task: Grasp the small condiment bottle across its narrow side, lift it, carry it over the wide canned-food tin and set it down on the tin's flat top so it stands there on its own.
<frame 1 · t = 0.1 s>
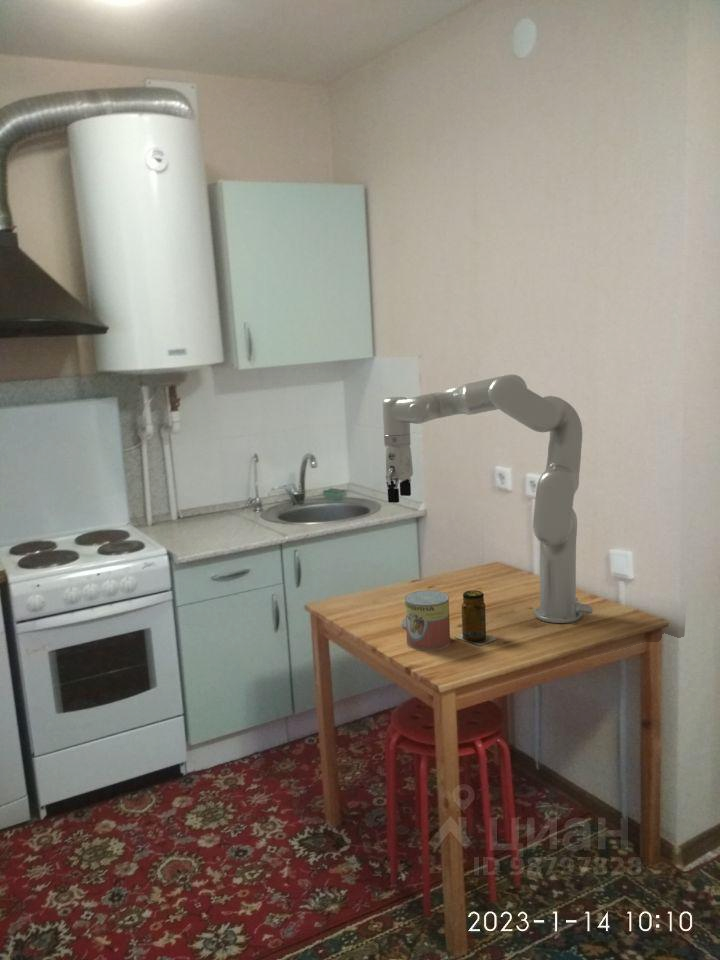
hand: (399, 498, 229), 31 cm above the table, fingers open, 9 cm apart
canned food: (428, 643, 203), on the table
saucer: (420, 625, 215), on the table
condiment: (476, 639, 204), on the table
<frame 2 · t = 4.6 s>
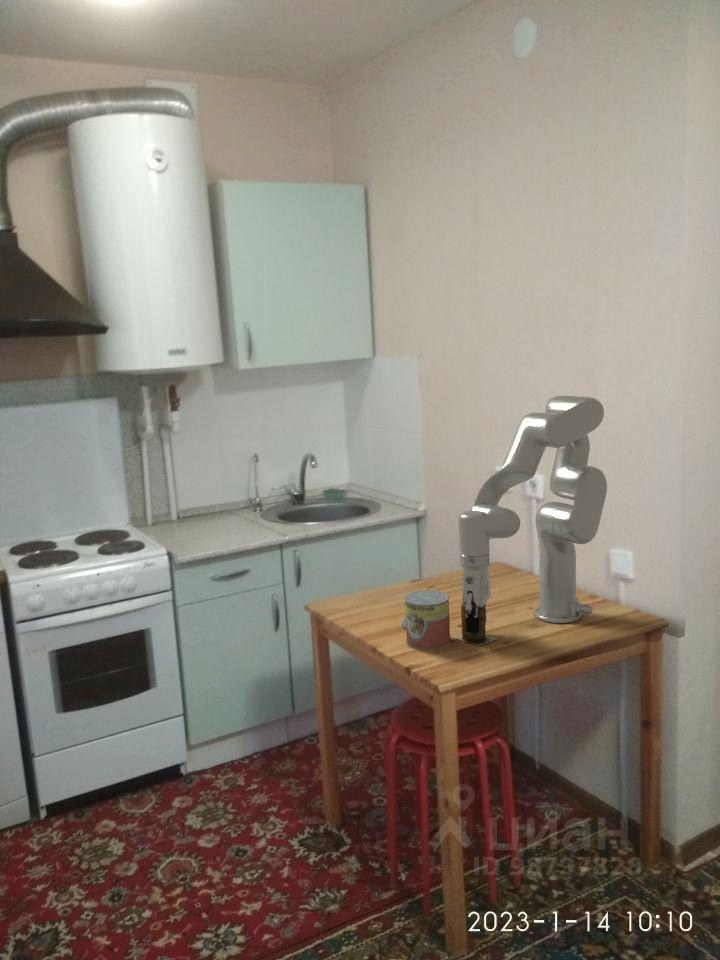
hand: (476, 626, 203), 3 cm above the table, fingers closed on condiment, 6 cm apart
condiment: (475, 639, 203), on the table, touching gripper
everything else where it was.
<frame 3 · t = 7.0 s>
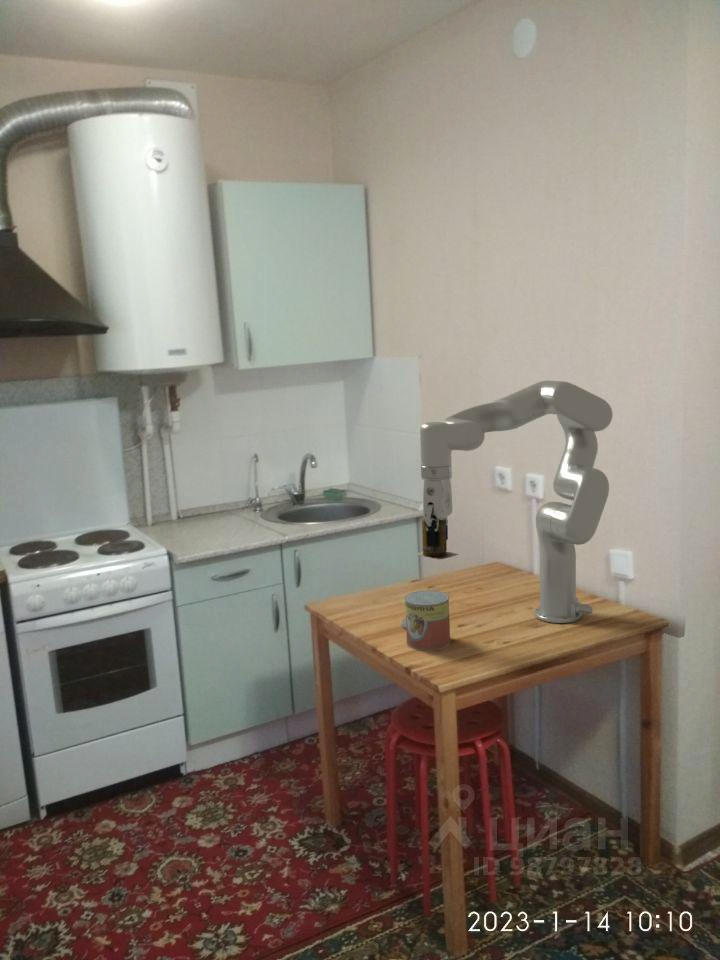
hand: (437, 542, 198), 26 cm above the table, fingers closed on condiment, 6 cm apart
condiment: (436, 555, 198), point 23 cm above the table, touching gripper
everything else where it was.
when the fingers open (16 cm above the table, at t = 9.5 s): condiment stays where it is, resting on canned food.
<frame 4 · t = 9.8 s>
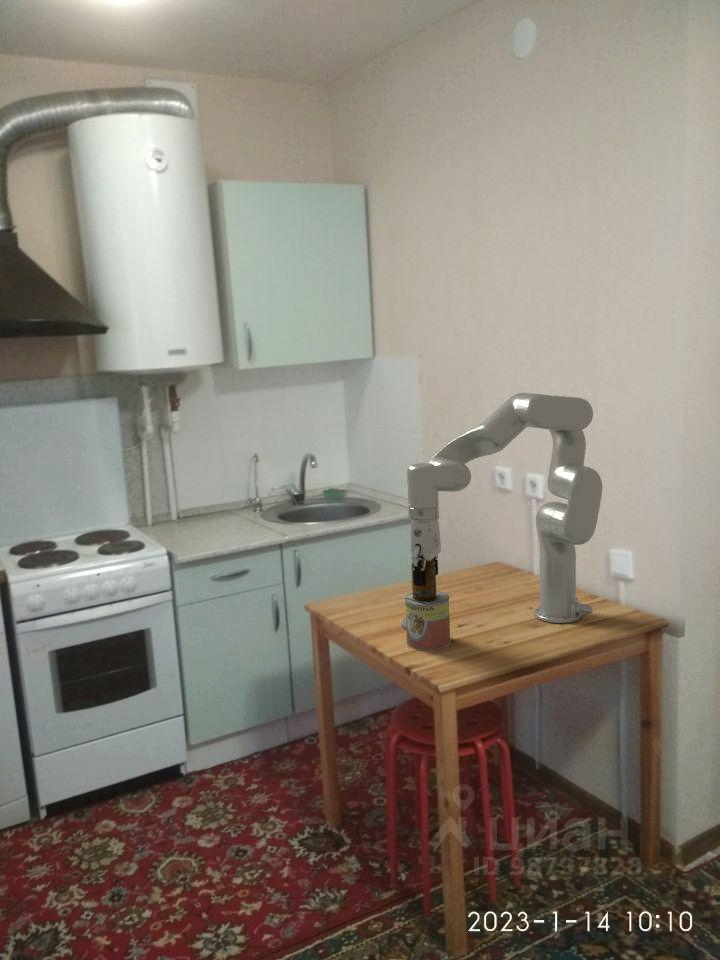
hand: (426, 579, 200), 17 cm above the table, fingers open, 8 cm apart
canned food: (428, 642, 203), on the table, touching condiment
condiment: (426, 598, 200), point 12 cm above the table, touching canned food
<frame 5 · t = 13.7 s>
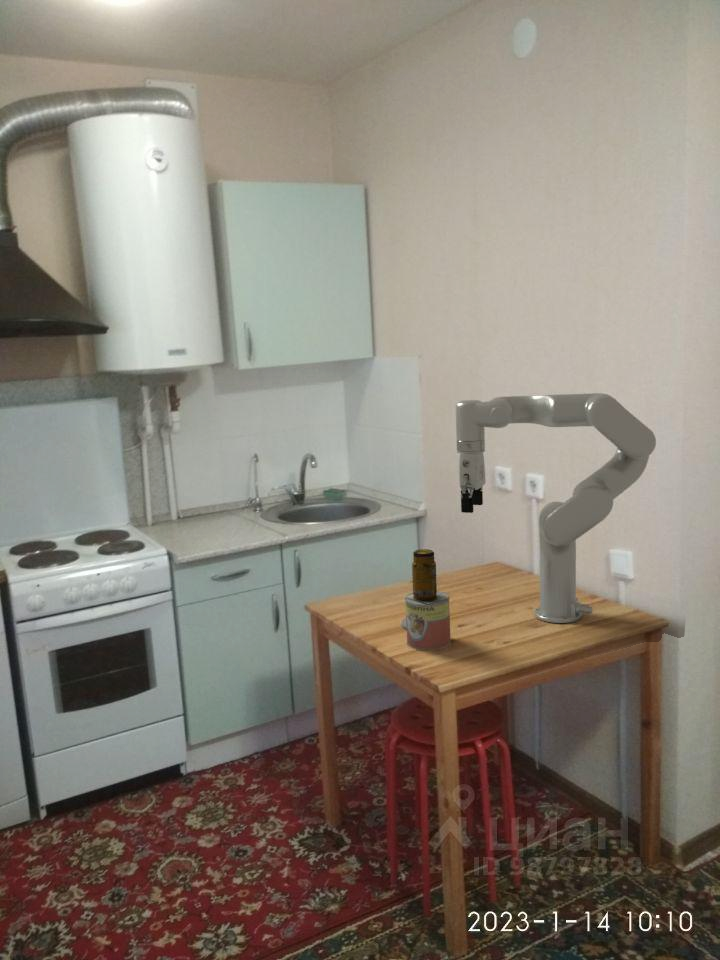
hand: (472, 508, 216), 30 cm above the table, fingers open, 9 cm apart
nothing on the table moved.
at the end: condiment inside the target area in the canned food (0.4 cm from its centre), point 12.0 cm above the canned food's base; condiment tilted 0°; condiment touching canned food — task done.
